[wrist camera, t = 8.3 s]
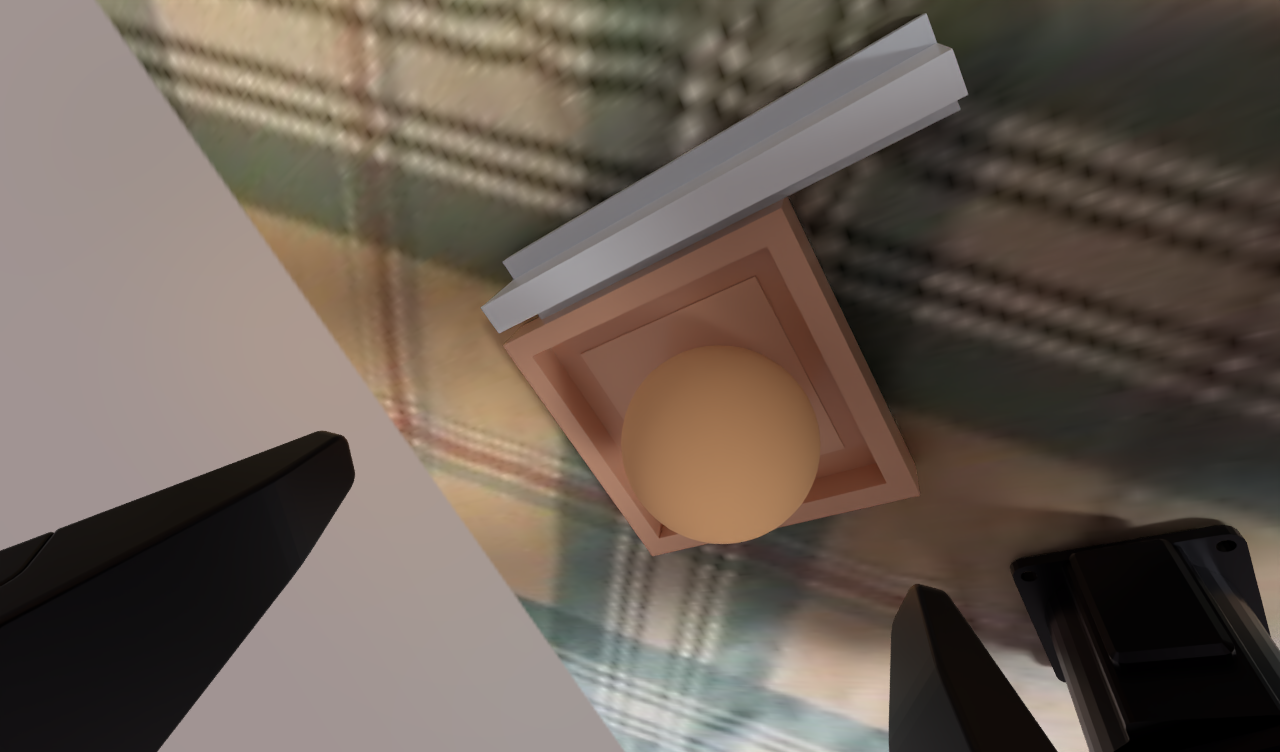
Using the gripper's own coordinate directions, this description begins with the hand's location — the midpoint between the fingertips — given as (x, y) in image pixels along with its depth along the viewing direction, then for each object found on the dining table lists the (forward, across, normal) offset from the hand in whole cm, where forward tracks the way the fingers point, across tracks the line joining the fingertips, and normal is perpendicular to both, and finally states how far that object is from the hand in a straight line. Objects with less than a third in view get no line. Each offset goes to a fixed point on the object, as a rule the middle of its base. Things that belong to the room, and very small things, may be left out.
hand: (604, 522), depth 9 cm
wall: (+12, +1, -2) cm, 12 cm away
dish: (+12, 0, +5) cm, 13 cm away
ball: (+8, -1, +5) cm, 10 cm away
